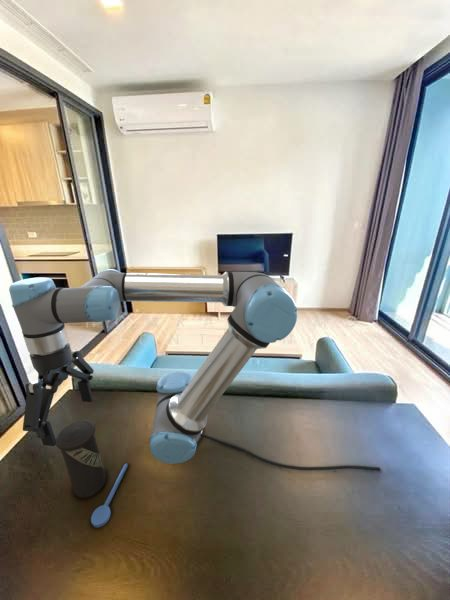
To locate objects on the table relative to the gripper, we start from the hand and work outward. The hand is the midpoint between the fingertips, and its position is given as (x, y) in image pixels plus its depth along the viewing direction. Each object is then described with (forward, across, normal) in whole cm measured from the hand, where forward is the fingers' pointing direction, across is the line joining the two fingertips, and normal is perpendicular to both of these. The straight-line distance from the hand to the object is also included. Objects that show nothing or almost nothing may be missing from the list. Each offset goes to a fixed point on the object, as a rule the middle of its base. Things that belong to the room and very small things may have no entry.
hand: (70, 420), depth 63 cm
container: (+24, 0, 0) cm, 24 cm away
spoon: (+23, +2, +8) cm, 25 cm away
